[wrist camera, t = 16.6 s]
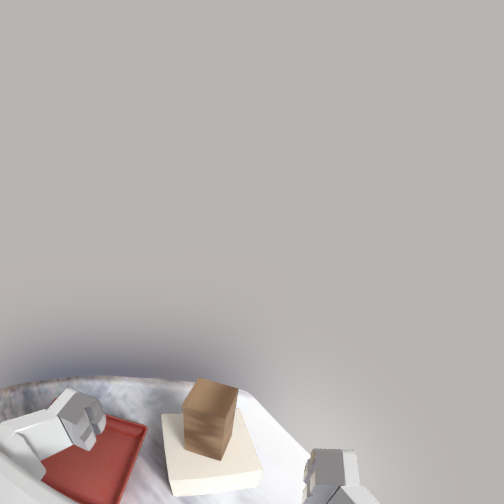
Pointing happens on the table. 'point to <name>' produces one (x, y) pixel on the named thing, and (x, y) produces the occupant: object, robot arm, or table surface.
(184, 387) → the table surface
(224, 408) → the walnut block
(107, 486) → the plant saucer
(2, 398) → the table surface
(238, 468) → the plinth
